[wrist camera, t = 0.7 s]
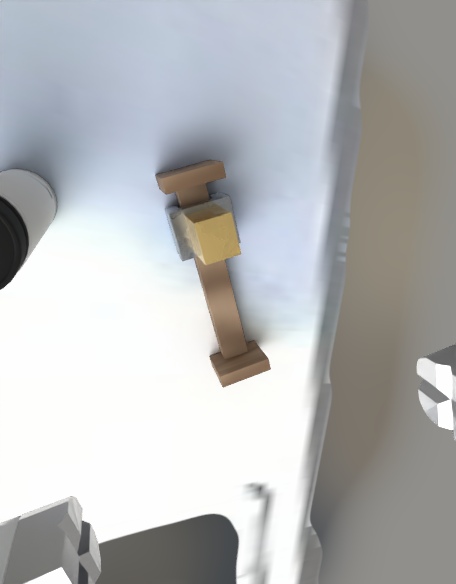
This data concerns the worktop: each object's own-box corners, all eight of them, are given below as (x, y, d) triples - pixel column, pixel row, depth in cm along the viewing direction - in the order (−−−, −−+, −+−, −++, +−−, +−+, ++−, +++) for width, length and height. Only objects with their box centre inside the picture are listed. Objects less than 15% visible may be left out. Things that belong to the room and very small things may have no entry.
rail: (155, 174, 42) (161, 178, 38) (209, 159, 43) (222, 161, 39) (212, 366, 52) (222, 387, 47) (256, 350, 53) (270, 369, 48)
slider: (163, 208, 43) (176, 222, 36) (220, 192, 44) (245, 202, 37) (176, 252, 45) (192, 275, 38) (231, 235, 46) (256, 254, 39)
